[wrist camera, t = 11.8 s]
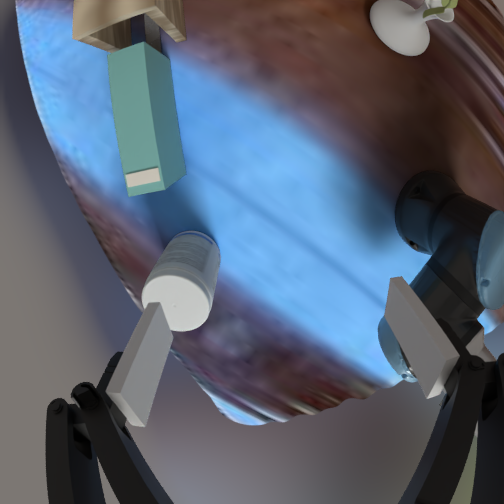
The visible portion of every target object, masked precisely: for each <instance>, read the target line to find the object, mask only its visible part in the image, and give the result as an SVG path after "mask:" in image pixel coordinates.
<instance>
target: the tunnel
mask: <svg viewBox="0 0 504 504" xmlns="http://www.w3.org/2000/svg"><path fill="white" fill-rule="evenodd" d="M142 13H146V14H147V15H148V16H149V17H150V18H151V19H152V20H153V21H155V22H156V23H157V24H158V25H159V26H160V27H161V28H162V29H163V30H164V31H165V32H166V33H167V34H169V35H170V36H171V37H172V38H173V39H174V40H175V41H176V42H180V41H185V40H187V38H186V29H185V20H184V10H183V1H182V0H74V9H73V39H75V40H78V41H80V42H83V43H86V44H89V45H92V46H94V47H97V48H100V49H102V50H105V51H107V52H110V53H113V52H116V51H118V50H121V49H124V48H126V47H129V46H132V38H131V19H130V18H131V17H134V16H137V15H139V14H142Z"/></svg>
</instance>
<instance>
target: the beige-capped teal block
mask: <svg viewBox="0 0 504 504" xmlns="http://www.w3.org/2000/svg"><path fill="white" fill-rule="evenodd" d="M107 58H108V71H109V82H110V92H111V100H112V108H113V116H114V123H115V129H116V135H117V141H118V147H119V153H120V158H121V163H122V168H123V173H124V178H125V183H126V187H127V192H128V196H129V197H131V196H135V195H140V194H146V193H151V192H156V191H162V190H166V189H167V188H168V187H170V186H171V185H172V184H173V183H175V182H176V181H178V180H179V179H180V178H182V177H183V176H184V175H186V169H185V163H184V157H183V151H182V145H181V139H180V132H179V126H178V119H177V112H176V105H175V98H174V90H173V82H172V74H171V66H170V59H168V58H167V57H166V56H164V55H163V54H161V53H160V52H158V51H157V50H156V49H154V48H153V47H151V46H150V45H148V44H147V43H145V42H141V43H138V44H135V45H132V46H129V47H126V48H124V49H121V50H118V51H116V52H113V53H111V54H108V55H107Z"/></svg>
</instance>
